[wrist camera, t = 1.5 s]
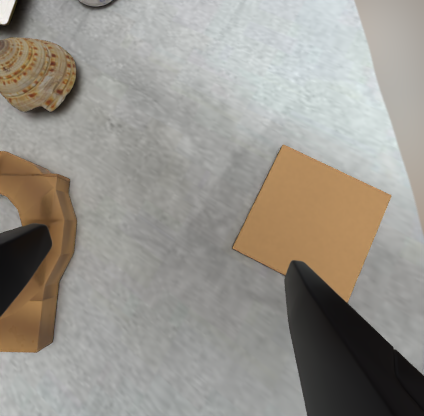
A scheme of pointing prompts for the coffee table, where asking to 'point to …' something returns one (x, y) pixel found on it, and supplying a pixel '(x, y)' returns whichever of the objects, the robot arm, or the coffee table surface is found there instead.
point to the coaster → (313, 220)
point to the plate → (7, 11)
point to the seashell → (35, 73)
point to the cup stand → (55, 259)
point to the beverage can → (95, 2)
